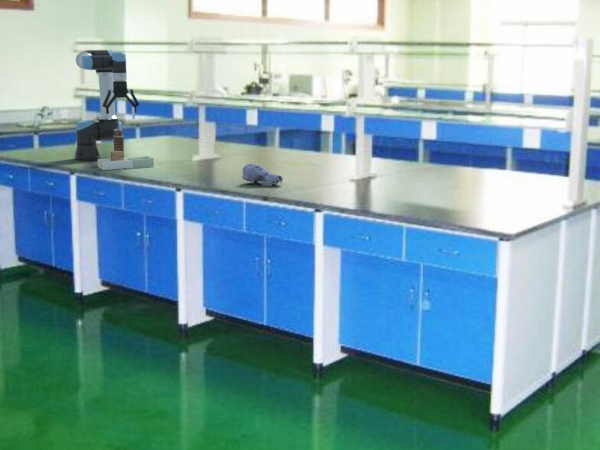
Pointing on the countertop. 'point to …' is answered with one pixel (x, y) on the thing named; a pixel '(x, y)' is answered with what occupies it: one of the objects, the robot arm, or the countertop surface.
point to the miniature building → (118, 140)
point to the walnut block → (117, 155)
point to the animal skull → (260, 175)
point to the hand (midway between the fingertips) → (121, 119)
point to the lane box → (126, 163)
